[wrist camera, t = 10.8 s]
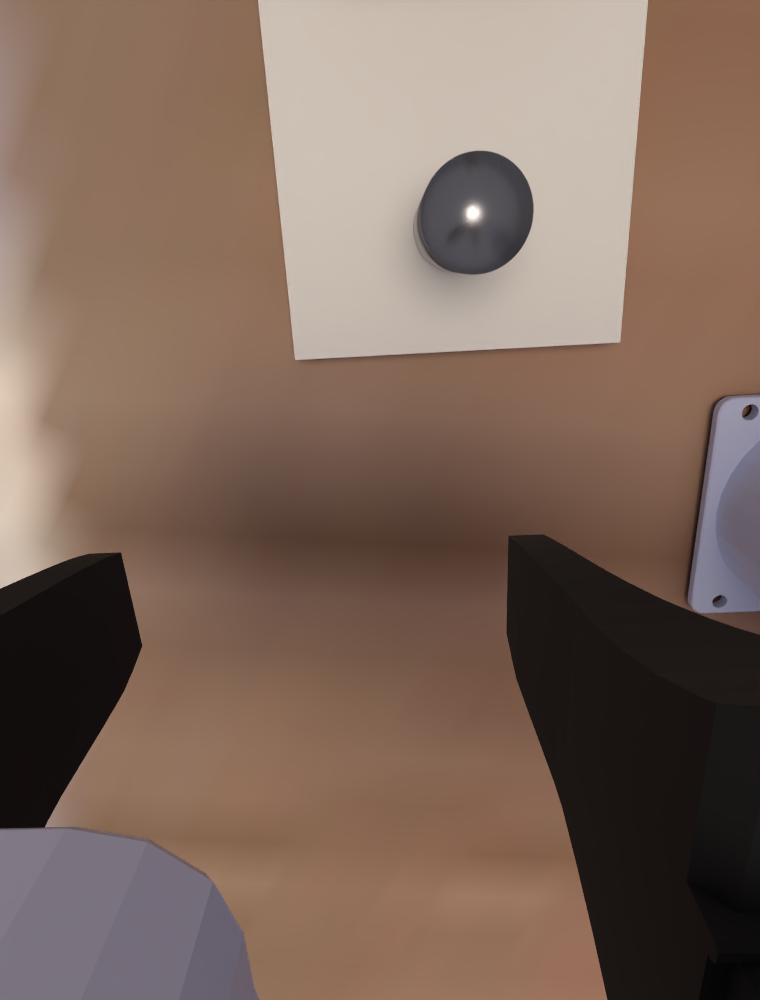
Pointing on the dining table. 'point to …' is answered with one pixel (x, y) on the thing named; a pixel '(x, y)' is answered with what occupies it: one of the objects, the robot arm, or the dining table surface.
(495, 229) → the post
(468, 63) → the board
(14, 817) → the robot arm
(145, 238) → the dining table surface
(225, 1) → the dining table surface
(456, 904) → the dining table surface
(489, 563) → the dining table surface
